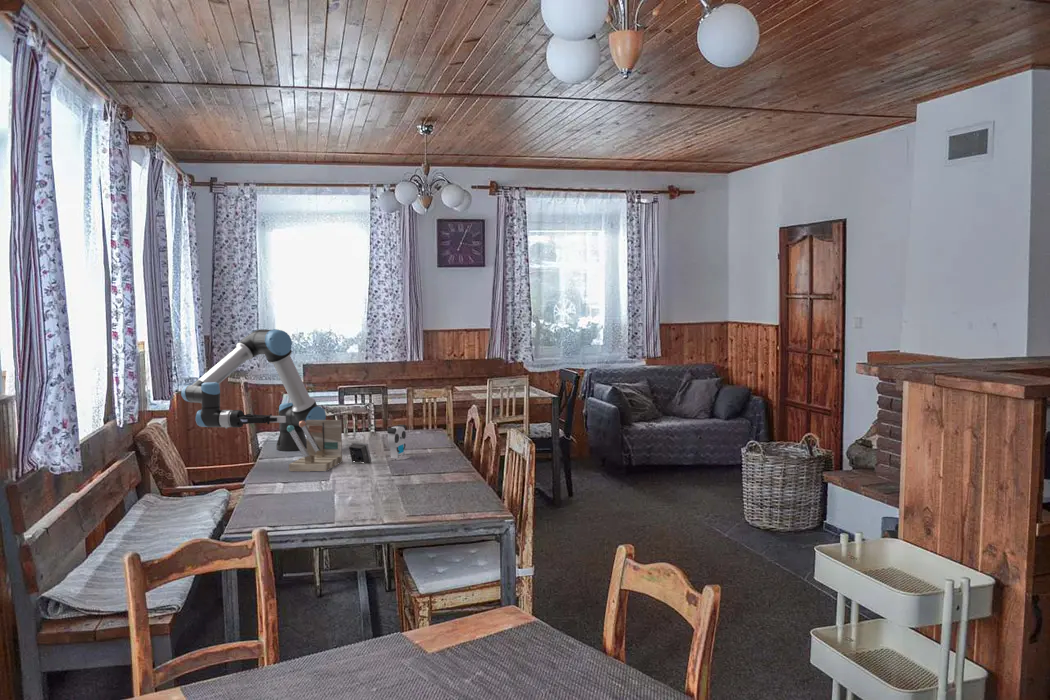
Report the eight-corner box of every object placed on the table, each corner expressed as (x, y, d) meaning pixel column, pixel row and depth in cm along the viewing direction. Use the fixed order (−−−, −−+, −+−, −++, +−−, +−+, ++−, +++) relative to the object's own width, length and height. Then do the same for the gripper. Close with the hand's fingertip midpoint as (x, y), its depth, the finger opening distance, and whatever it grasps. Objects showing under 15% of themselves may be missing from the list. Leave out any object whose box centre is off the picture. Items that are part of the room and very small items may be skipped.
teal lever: (307, 460, 358) (287, 426, 358) (313, 457, 357) (293, 423, 357) (304, 462, 354) (284, 427, 354) (310, 458, 354) (290, 424, 354)
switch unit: (308, 461, 376) (307, 419, 375) (342, 461, 375) (341, 419, 373) (289, 471, 353) (288, 427, 352) (325, 471, 352) (324, 427, 351)
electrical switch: (372, 462, 372) (370, 442, 370) (363, 465, 367) (362, 445, 366) (356, 460, 377) (355, 440, 375) (348, 463, 372) (346, 443, 371)
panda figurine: (402, 461, 374) (401, 428, 373) (379, 460, 377) (379, 427, 377) (413, 456, 385) (413, 424, 384) (392, 455, 389) (391, 423, 388)
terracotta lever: (318, 455, 371) (299, 422, 371) (324, 451, 371) (304, 418, 371) (315, 456, 368) (296, 423, 368) (321, 452, 368) (302, 419, 368)
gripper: (239, 425, 364) (291, 426, 362) (225, 429, 351) (279, 430, 349) (239, 408, 364) (290, 409, 362) (225, 411, 351) (279, 412, 349)
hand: (285, 419), depth 356 cm, fingers closed
